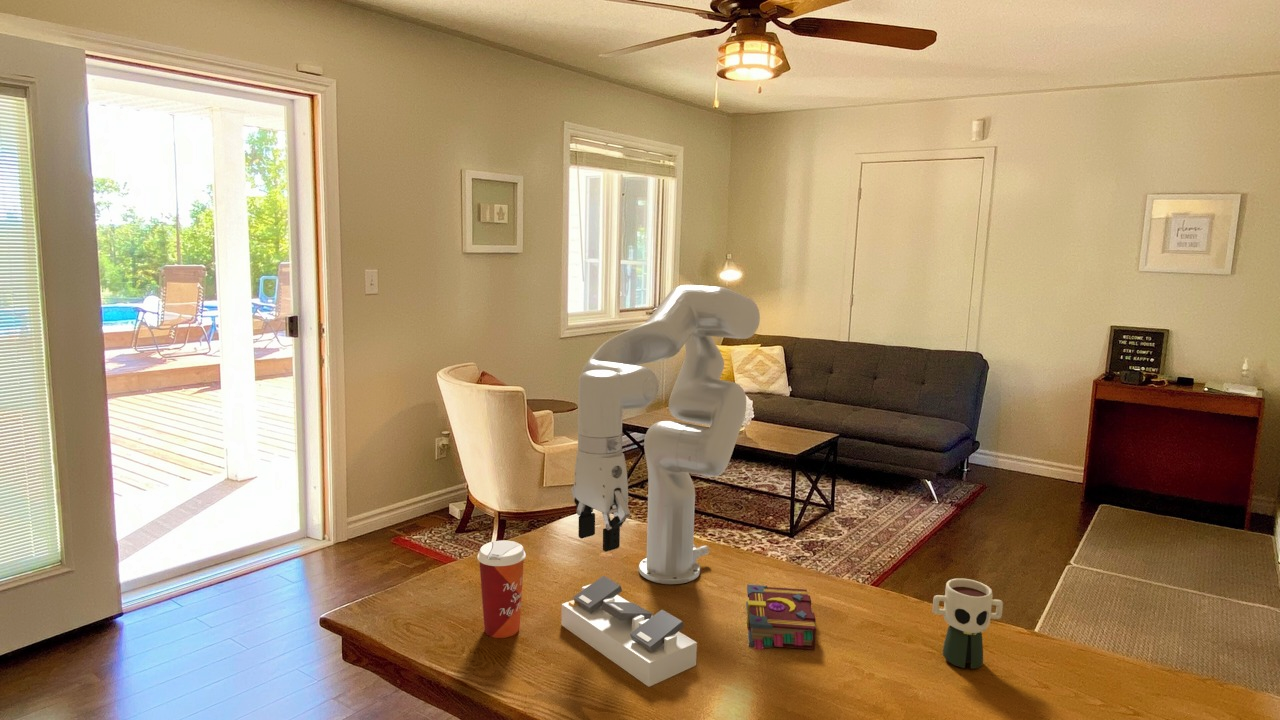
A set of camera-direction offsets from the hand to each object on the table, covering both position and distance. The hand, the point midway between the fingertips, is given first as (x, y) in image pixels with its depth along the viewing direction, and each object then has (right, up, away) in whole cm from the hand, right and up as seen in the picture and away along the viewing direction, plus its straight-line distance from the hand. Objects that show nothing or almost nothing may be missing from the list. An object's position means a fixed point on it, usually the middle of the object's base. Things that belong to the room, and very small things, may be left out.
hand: (598, 541), depth 136 cm
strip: (+4, -16, -2) cm, 17 cm away
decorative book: (+32, -17, +3) cm, 36 cm away
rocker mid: (+5, -11, -4) cm, 13 cm away
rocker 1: (0, -10, +2) cm, 10 cm away
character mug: (+61, -18, -6) cm, 64 cm away
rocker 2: (+10, -12, -11) cm, 19 cm away
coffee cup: (-17, -16, +1) cm, 23 cm away
